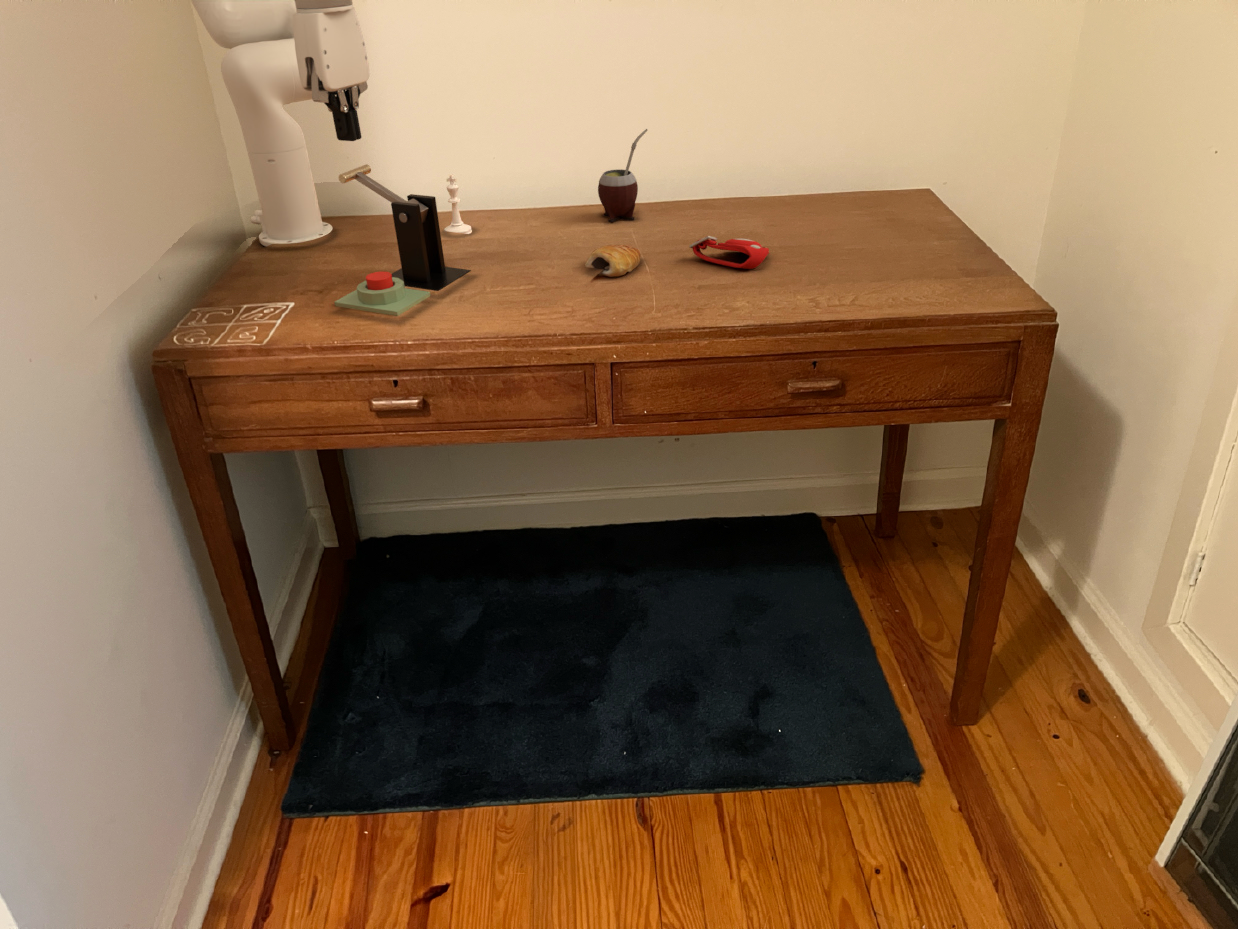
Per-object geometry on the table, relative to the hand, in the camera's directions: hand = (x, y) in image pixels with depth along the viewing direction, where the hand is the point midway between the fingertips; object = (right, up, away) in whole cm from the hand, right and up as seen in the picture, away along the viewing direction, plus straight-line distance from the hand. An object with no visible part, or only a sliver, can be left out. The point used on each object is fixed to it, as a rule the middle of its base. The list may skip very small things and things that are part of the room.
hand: (349, 139), depth 133 cm
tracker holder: (+57, -15, +12) cm, 60 cm away
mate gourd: (+40, -3, +33) cm, 52 cm away
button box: (+5, -25, 0) cm, 25 cm away
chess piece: (+11, -6, +29) cm, 31 cm away
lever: (+4, -8, +3) cm, 10 cm away
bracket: (+9, -19, +8) cm, 23 cm away
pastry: (+38, -17, +10) cm, 43 cm away
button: (+5, -22, -2) cm, 23 cm away
